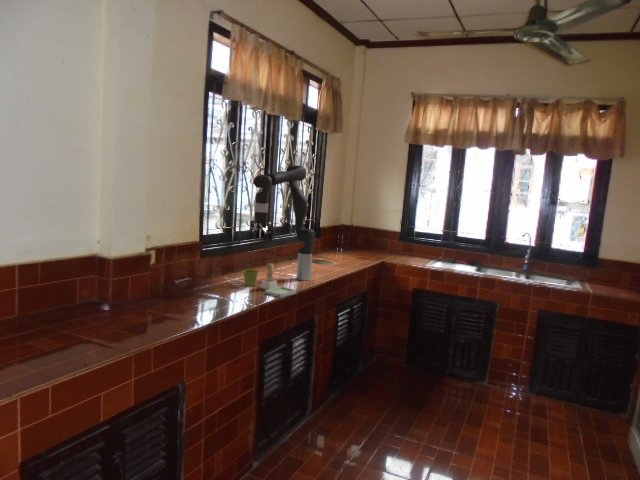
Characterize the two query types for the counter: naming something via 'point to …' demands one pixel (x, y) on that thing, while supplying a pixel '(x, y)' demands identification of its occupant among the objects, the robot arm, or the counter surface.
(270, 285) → the white open box
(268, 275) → the dowel
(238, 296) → the counter surface
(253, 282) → the plant pot
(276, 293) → the tray
